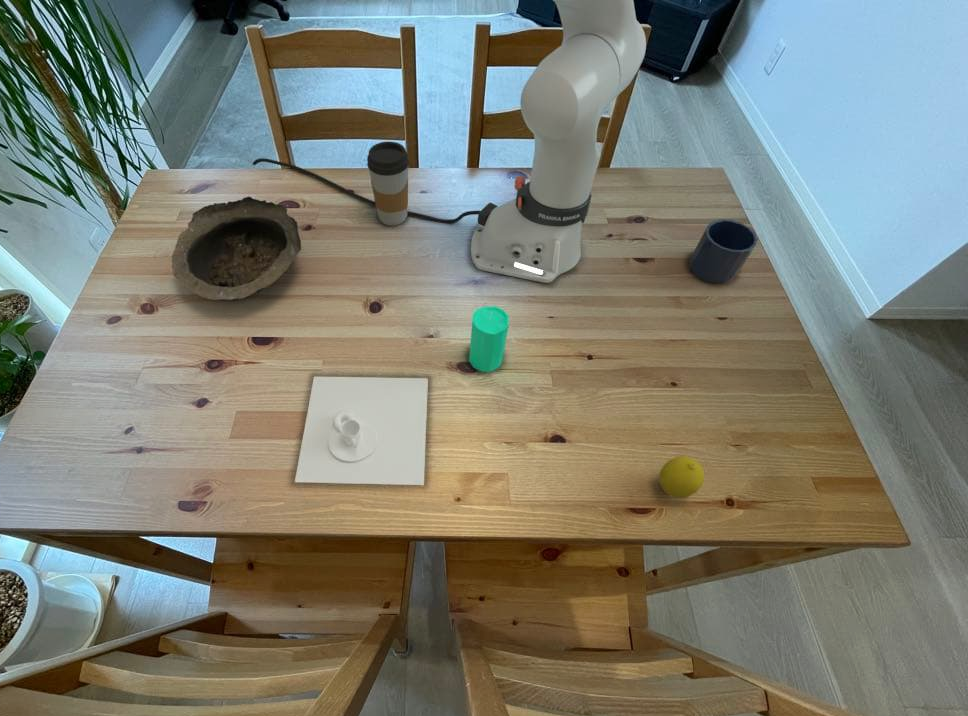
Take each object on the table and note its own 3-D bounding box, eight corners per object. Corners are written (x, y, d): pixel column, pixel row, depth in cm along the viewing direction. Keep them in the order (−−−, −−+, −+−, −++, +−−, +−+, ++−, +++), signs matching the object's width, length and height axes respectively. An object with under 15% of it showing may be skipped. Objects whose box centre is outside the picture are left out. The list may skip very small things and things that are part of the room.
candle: (464, 366, 90) (467, 321, 80) (474, 341, 93) (479, 294, 83) (497, 376, 89) (504, 331, 79) (506, 350, 92) (514, 303, 82)
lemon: (690, 508, 76) (715, 487, 69) (652, 501, 76) (673, 479, 70) (688, 474, 78) (711, 451, 72) (651, 468, 79) (671, 444, 72)
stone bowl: (294, 219, 112) (285, 183, 104) (320, 305, 101) (311, 272, 92) (178, 243, 108) (159, 208, 99) (191, 336, 96) (170, 304, 88)
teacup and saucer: (332, 414, 85) (328, 401, 82) (380, 415, 85) (377, 402, 82) (325, 462, 81) (320, 450, 77) (375, 463, 80) (372, 451, 77)
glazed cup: (692, 282, 100) (711, 250, 93) (685, 250, 105) (702, 218, 98) (740, 285, 99) (762, 253, 93) (730, 253, 104) (751, 220, 97)
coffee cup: (378, 203, 115) (370, 138, 102) (414, 206, 114) (411, 141, 101) (370, 228, 110) (361, 163, 98) (408, 231, 110) (404, 166, 97)
